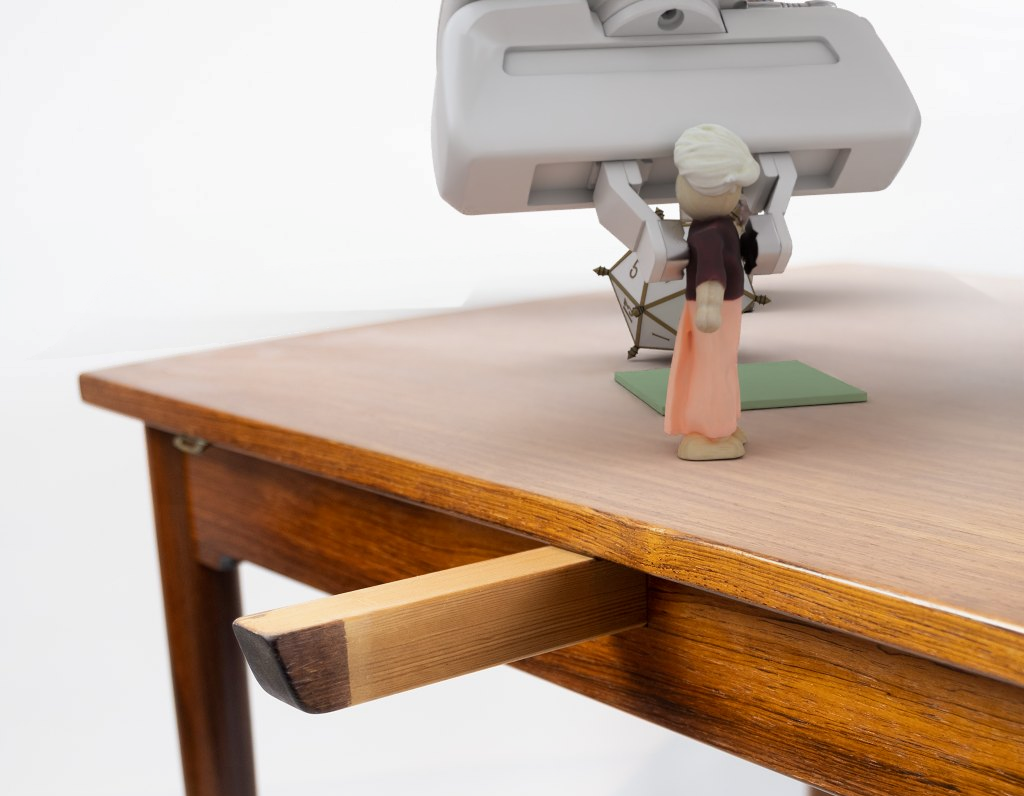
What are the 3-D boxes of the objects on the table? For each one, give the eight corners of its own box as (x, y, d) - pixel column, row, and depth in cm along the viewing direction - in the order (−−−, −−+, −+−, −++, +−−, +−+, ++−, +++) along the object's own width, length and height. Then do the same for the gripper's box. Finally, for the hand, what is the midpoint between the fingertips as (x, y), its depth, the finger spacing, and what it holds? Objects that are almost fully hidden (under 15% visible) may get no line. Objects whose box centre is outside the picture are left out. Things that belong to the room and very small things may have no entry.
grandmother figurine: (658, 433, 66) (653, 124, 62) (746, 429, 66) (748, 118, 61) (670, 474, 59) (665, 129, 54) (768, 470, 59) (772, 123, 54)
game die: (653, 421, 87) (606, 269, 89) (795, 365, 85) (743, 211, 87) (613, 367, 79) (562, 201, 81) (769, 304, 77) (712, 135, 79)
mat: (797, 367, 81) (797, 359, 80) (867, 401, 71) (867, 392, 71) (614, 379, 79) (614, 372, 79) (662, 415, 70) (662, 406, 70)
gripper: (836, 60, 70) (927, 302, 65) (400, 76, 65) (460, 337, 60) (888, -59, 64) (992, 197, 59) (413, -49, 59) (481, 228, 54)
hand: (719, 268), depth 59 cm, fingers closed on grandmother figurine, 3 cm apart
